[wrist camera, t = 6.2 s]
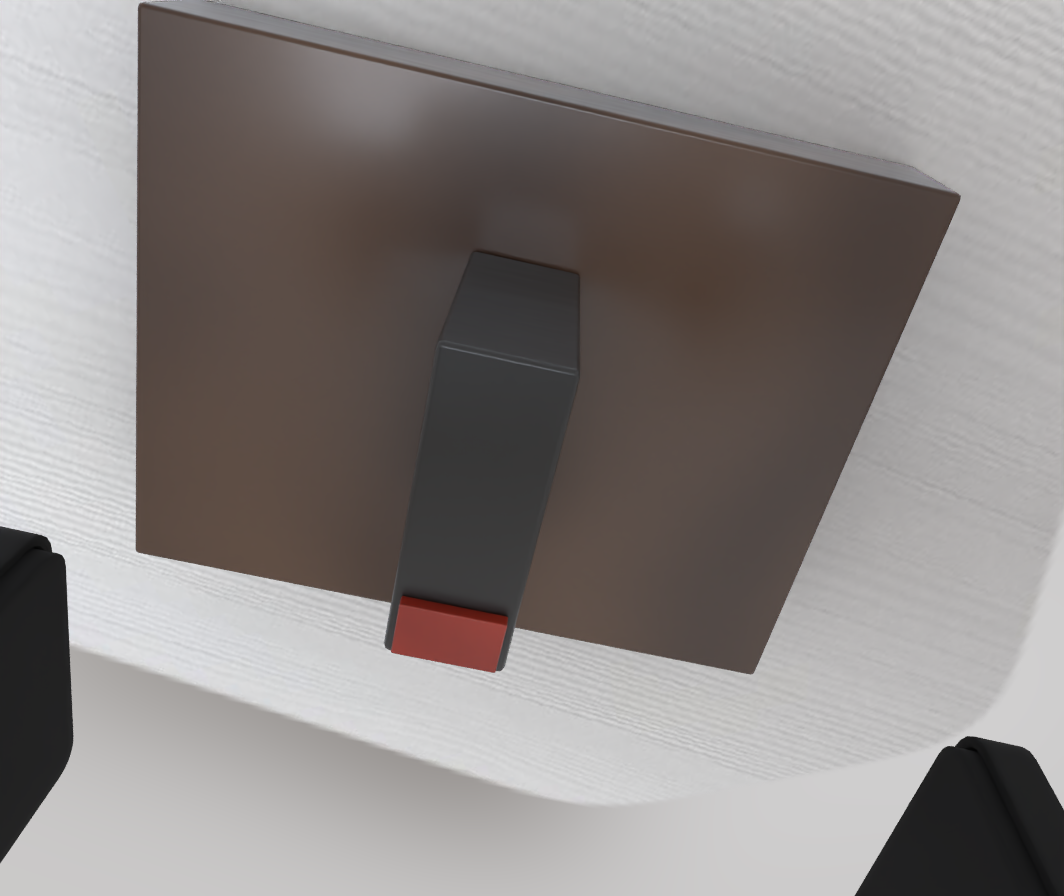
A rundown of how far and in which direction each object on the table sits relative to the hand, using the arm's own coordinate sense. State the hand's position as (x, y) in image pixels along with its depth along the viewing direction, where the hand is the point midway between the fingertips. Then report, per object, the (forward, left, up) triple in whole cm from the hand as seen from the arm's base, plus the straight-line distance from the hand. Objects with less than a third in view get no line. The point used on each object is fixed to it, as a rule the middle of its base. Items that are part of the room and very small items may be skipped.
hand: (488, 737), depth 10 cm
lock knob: (+1, 0, -9) cm, 9 cm away
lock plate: (+1, 0, -11) cm, 11 cm away
